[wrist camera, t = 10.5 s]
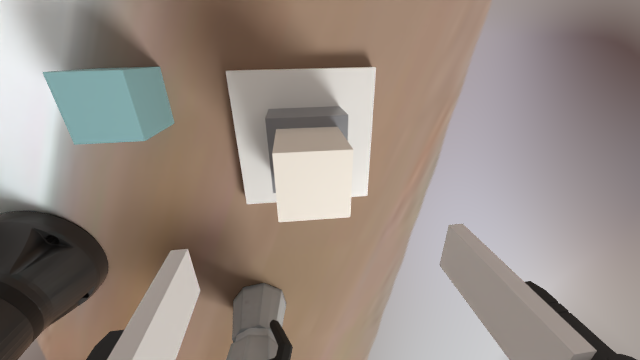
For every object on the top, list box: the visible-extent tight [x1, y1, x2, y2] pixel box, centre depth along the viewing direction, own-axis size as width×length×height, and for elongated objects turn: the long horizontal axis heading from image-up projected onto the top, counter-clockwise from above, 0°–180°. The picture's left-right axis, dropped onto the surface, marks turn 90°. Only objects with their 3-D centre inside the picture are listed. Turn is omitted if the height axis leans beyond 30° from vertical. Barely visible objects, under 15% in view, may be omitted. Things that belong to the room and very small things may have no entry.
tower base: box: [226, 67, 376, 204], centre depth 30 cm, size 16×16×6 cm
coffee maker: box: [226, 283, 293, 360], centre depth 36 cm, size 15×9×18 cm, turn 144°
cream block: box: [272, 127, 353, 222], centre depth 24 cm, size 6×6×7 cm
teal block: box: [43, 67, 174, 144], centre depth 26 cm, size 6×6×7 cm
